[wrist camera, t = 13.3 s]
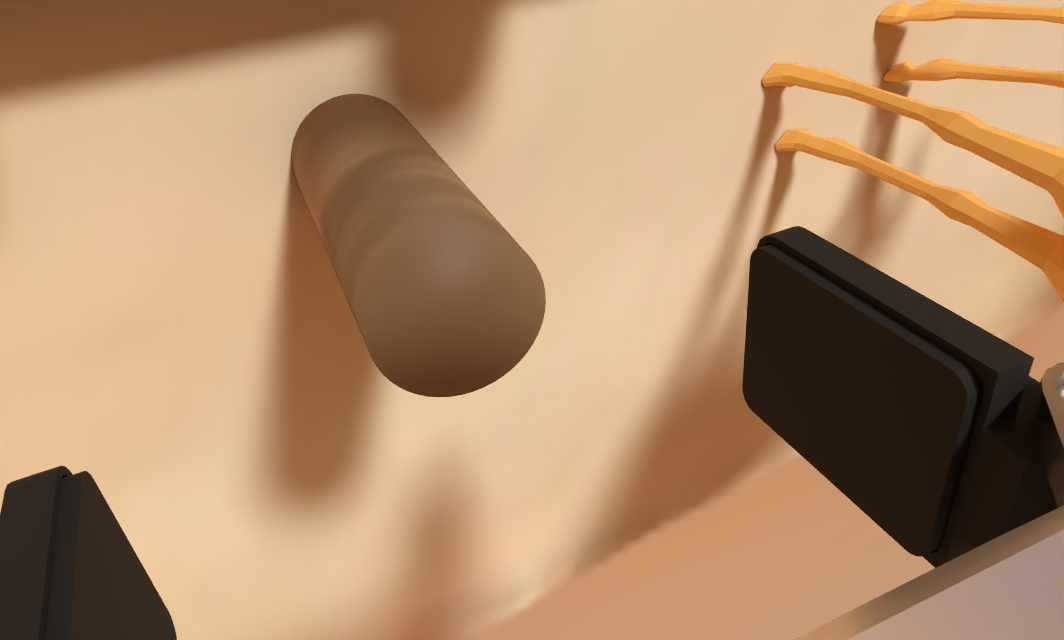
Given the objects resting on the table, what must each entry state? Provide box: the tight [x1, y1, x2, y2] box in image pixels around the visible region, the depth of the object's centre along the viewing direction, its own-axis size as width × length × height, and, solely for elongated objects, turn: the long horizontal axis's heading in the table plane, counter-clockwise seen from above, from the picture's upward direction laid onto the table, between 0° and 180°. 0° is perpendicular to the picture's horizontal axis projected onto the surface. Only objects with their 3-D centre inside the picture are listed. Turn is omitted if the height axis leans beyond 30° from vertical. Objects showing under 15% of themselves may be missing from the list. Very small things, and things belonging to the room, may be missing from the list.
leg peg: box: [291, 94, 546, 397], centre depth 16 cm, size 3×3×8 cm
